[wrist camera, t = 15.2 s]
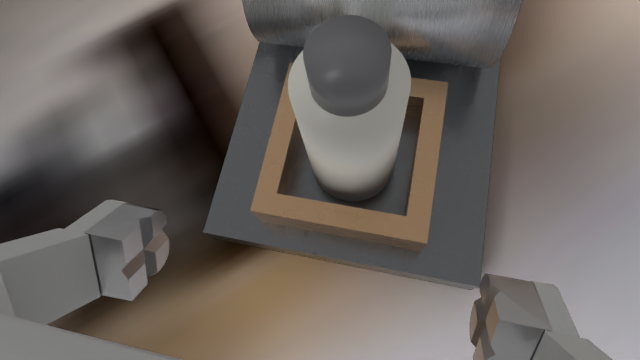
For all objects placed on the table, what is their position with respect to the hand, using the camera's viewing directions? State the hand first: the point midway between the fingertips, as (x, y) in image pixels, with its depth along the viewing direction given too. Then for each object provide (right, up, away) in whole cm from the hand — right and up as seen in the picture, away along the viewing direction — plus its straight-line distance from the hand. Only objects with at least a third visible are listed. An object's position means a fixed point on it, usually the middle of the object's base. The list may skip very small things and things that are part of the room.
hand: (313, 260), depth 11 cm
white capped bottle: (+2, +3, +15) cm, 15 cm away
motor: (+3, +7, +18) cm, 20 cm away
